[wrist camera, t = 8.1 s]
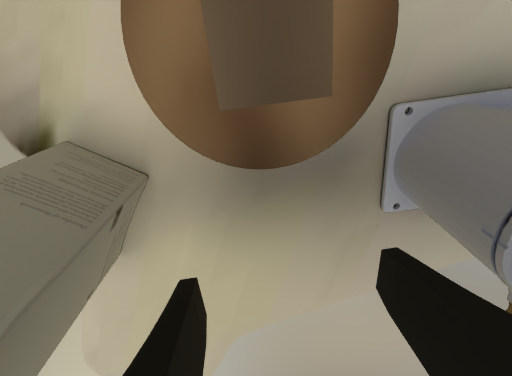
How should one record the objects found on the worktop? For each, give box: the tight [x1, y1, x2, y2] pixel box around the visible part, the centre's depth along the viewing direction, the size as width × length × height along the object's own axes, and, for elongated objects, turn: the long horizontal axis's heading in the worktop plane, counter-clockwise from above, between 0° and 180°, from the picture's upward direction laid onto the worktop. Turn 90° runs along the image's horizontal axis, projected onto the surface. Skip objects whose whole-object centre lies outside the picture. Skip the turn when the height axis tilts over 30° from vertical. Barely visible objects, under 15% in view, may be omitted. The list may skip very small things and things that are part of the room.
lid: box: [121, 0, 399, 169], centre depth 10 cm, size 11×11×5 cm
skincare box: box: [0, 142, 148, 376], centre depth 13 cm, size 8×6×15 cm
